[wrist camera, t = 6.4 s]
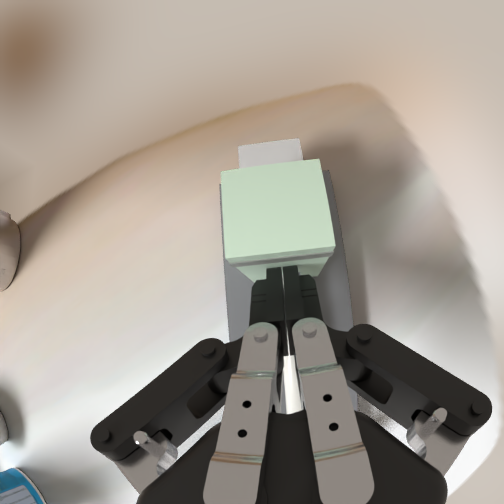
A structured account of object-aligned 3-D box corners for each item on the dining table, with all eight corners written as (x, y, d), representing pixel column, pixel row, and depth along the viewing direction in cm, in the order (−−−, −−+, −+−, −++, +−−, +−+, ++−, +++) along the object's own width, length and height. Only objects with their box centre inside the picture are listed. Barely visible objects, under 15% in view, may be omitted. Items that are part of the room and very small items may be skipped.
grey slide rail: (353, 452, 16) (369, 492, 10) (246, 461, 17) (230, 503, 11) (327, 179, 21) (335, 135, 15) (224, 192, 22) (201, 152, 16)
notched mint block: (318, 276, 18) (337, 246, 10) (254, 284, 18) (223, 260, 10) (310, 221, 18) (320, 157, 11) (249, 228, 19) (219, 170, 11)
